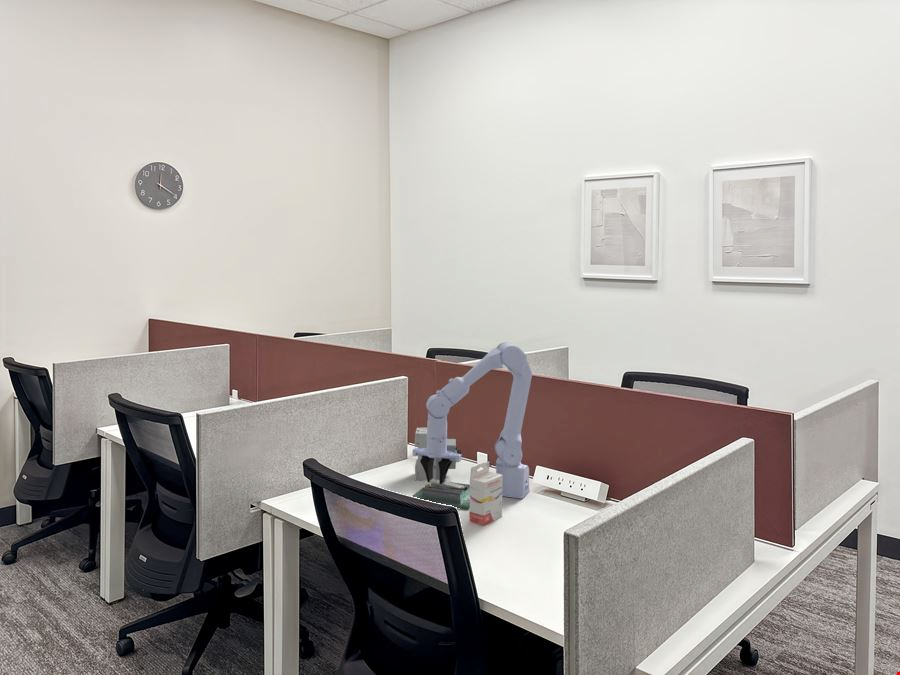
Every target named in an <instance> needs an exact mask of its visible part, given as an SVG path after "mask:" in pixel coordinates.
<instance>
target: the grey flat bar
mask: <svg viewBox="0 0 900 675" xmlns="http://www.w3.org/2000/svg"><path fill="white" fill-rule="evenodd" d="M451 482H452V481H447V480H445V482H443V483H442V484H440V482H439V480H438V479H434V478H433V479H431V480H430V482H429V483H428V484H431V483H432V484H436V485H440V486H444V487H448V488H452V489H456V490H464V489H465V488H466V486H465V485H464V486H463V485H459V484H455V483H456V482H453V483H451Z"/></svg>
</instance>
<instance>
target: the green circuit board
mask: <svg viewBox="0 0 900 675" xmlns="http://www.w3.org/2000/svg"><path fill="white" fill-rule="evenodd" d="M450 482H451V483H455V484H459V485H463V486H464V485H465V486H466V488H465V489H464V490H456V489H452V488H448V487H444V486H440V485H436V484H432V483H427V484H425V485H424V486H423V487H422V488H421V489H419V490H418V491H416V492H415V493H413V495H411V496H413V497H417V498H420V499H424V500H429V501H432V502H436V503H441V504H446V505H452V506H454V507H457V508H460V509H459V510H464V511H465V510H467V511H469V510H470V483H469V484H467V483H460V482H453V481H450ZM457 508H456V509H457Z"/></svg>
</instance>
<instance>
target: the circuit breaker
mask: <svg viewBox="0 0 900 675" xmlns="http://www.w3.org/2000/svg"><path fill="white" fill-rule="evenodd" d="M414 435H415V436H414V447H415V448H425V449H427V427H416V430H415V433H414ZM456 441H457V440H456V438H447V451H450V452H454V453H457V454H461V455H462V449H458V447H457V444H456ZM421 459H422V456H417V458H416V459H415V460H416V462H415V464H414V481H415V482H416V481H420V482H423V481H424V482H425V481H427V477H426V473H425V470H424V468H423V466H422V464H421V463H420V460H421ZM441 460H442V459H437V458H434V464H433V478H434V479H438V480H439V479H440V471H439V464H438V462H439V461H441ZM456 465H457V462H455V461H452V463H451V465H450V467H449V469H448V470H456Z"/></svg>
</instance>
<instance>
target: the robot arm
mask: <svg viewBox="0 0 900 675" xmlns="http://www.w3.org/2000/svg"><path fill="white" fill-rule="evenodd" d="M504 366H505V367H506V368H507V370H508V371H509V372H510V373H511V375H512V376H513V380H512V384H511V388H510V394H509V400H508V404H507V410H506V415H505V420H504V426H503V428H502V431H500V433H499V438H497V441H496V442H495V444H494V453H495V454H496V456H497V459H496V461H495V473H496V474H501V475H503V481H502V497H507V498H514V499H523V498H524V497H525V496H526V495H527V494H528V493H529V492H530V491H531V489H530V468H529V465H527V464H523V463H522V462H521V461H522V459H523V451H522V444H523V441H522V429H523V422H524V418H525V413H526V408H527V404H528V398H529V394H530V393H529V392H530V388H531V381H532V377H533V372H532V370H531V367H530V364H529V362H528V358H527V354H526V353H525V352H524V351H523V349H521V347H519V346H516V345H515V344H514V345H513V344H512V343H511V342H509V341H504V342H501V343H499V344H498V345H497V346H496V347H494V348H492V349H491V350H490V351H489V352H488V353H487V354H485V355H484V356H483V357H482V358H481V360H479V361H478V362H477V363H476V364H475V365H474V366H473V367H472V368H470V370H469V371H467V373H465V374H464V375H462V377H461V376H456V377H454V378H453V377H451V378H450V379H448V383H447V384H446V385H445V386H443V387H442V388H441V389H438V390H436V392H435V393H436V394H432V395H430V396H429V397H428V399H427V401H426V403H425V407H426V410H427V423H426V424H427V425H426V426H427V427H426V428H427V449H425V448H418V447H415V448H413V449H412V457H418V456H422V459H421V460H420V463H421V464H422V466H423V468H424V470H425V473H426V477H427V484H430V483H429V482H430V480H431V479H433V464H434V458H437V459H442V460H441V461H439V462H438V464H439V471H440V479H439V482H440V484H442V483H443V482H445V481H446V478H447V474H448V471H449V470H450V469H449V467H450V465H451V463H452V461H455V462H456V463H460V462H462V453H461V454H457V453H454V452H450V451H447V439H448V419H447V418H448V414H449V412H450V410H451V407H453V406H455V405H456V404H457V403H458V402H459V401H460V400H462V399H463V398H464V397H465V396H466V395H467V394H469V392H470V388H471V387H470V386H472V385H473V384H475V383H476V382H477V381H479V379H481V378H483V377H484V376H485V375H486V374H487V373H489V372H490V371H491V370H493V369H494V370H495V369H504Z"/></svg>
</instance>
